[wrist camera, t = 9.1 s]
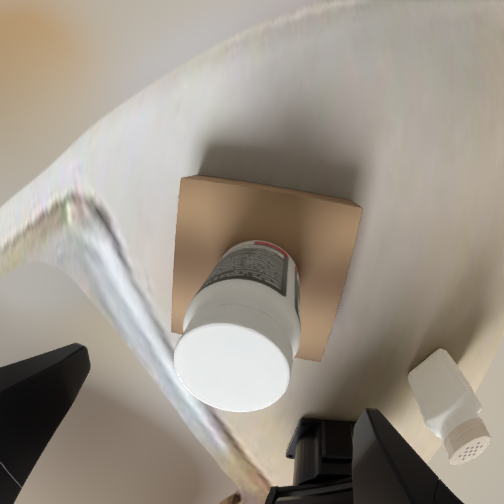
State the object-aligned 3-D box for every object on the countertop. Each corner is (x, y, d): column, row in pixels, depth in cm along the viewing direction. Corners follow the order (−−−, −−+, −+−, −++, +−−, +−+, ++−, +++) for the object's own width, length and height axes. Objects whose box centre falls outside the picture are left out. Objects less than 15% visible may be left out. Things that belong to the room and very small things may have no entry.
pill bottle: (201, 269, 18) (135, 349, 10) (266, 221, 16) (237, 281, 8) (250, 328, 18) (221, 432, 10) (315, 288, 17) (327, 388, 9)
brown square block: (318, 337, 21) (320, 361, 19) (185, 311, 22) (171, 331, 19) (352, 201, 18) (362, 208, 15) (197, 174, 19) (180, 178, 16)
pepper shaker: (403, 373, 21) (435, 461, 12) (440, 342, 20) (488, 423, 11) (424, 393, 22) (454, 473, 13) (458, 365, 21) (500, 440, 12)
